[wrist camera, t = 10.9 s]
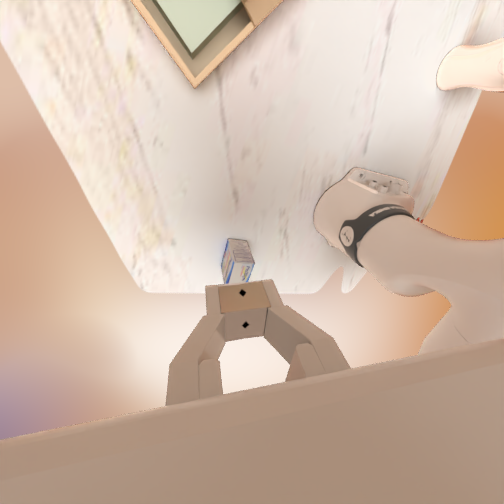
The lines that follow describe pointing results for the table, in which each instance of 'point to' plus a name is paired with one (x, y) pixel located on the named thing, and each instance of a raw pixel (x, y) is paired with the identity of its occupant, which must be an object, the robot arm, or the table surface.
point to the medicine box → (237, 262)
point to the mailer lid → (258, 9)
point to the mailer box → (197, 31)
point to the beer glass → (473, 67)
